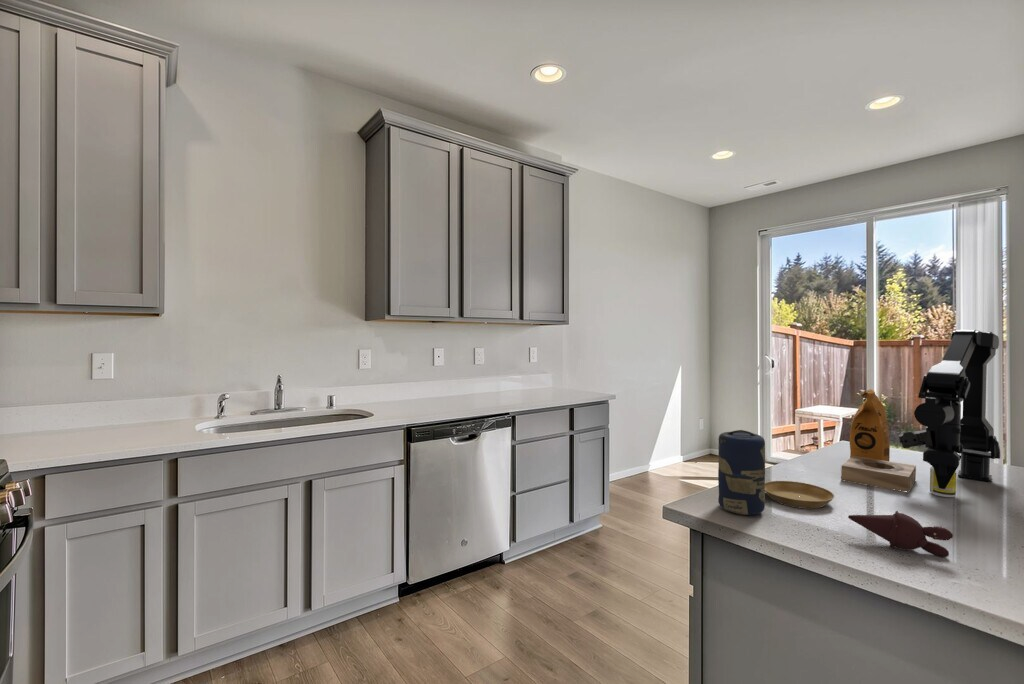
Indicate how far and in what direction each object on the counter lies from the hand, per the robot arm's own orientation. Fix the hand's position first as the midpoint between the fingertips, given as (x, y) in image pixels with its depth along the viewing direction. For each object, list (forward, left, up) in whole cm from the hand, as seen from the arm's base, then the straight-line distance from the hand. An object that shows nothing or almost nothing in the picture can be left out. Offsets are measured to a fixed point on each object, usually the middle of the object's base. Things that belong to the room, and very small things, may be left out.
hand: (942, 486), depth 117 cm
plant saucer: (+29, -24, -3) cm, 38 cm away
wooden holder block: (-3, -13, -2) cm, 14 cm away
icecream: (+44, -4, -2) cm, 44 cm away
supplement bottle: (0, 0, -2) cm, 2 cm away
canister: (+45, -31, -2) cm, 55 cm away
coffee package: (-21, -18, -2) cm, 28 cm away
